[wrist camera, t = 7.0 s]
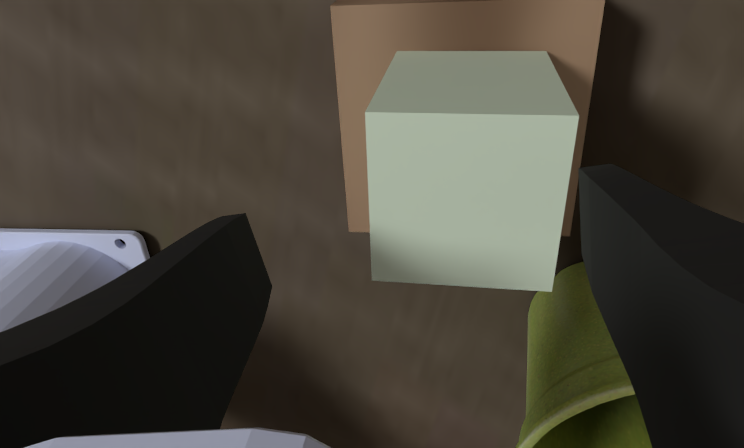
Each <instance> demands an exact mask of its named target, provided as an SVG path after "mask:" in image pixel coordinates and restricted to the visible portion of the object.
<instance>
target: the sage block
mask: <svg viewBox="0 0 744 448" xmlns="http://www.w3.org/2000/svg"><path fill="white" fill-rule="evenodd" d="M578 120H579V114H578V112H577V110H576V108H575V106H574V105H573V103H572V101H571V99H570V97H569V95H568V93H567V91H566V89H565V87H564V85H563V83H562V81H561V79H560V77H559V75H558V73H557V71H556V69H555V67H554V65H553V63H552V61H551V59H550V57H549V56H548V54H547V52H546V51H397V52H396V54H395V56H394V58H393V59H392V61H391V63H390V65H389V67H388V69H387V71H386V73H385V75H384V77H383V79H382V81H381V82H380V84H379V86H378V88H377V90H376V92H375V94H374V96H373V98H372V100H371V102H370V103H369V105H368V107H367V109H366V111H365V125H366V149H367V173H368V197H369V221H370V245H371V269H372V281H388V282H404V283H420V284H435V285H451V286H467V287H483V288H499V289H514V290H530V291H546V292H552V289H553V282H554V276H555V269H556V263H557V256H558V250H559V243H560V237H561V230H562V224H563V217H564V211H565V204H566V198H567V192H568V185H569V179H570V172H571V166H572V159H573V153H574V146H575V140H576V133H577V127H578Z"/></svg>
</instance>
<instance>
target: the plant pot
mask: <svg viewBox="0 0 744 448" xmlns="http://www.w3.org/2000/svg"><path fill="white" fill-rule="evenodd" d="M515 448H652V445H651V442H650V439H649V435H648V432H647V429H646V426H645V422H644V419H643V416H642V412H641V409H640V406H639V403H638V400H637V397H636V394H635V392H634V389H633V387H632V384H631V381H630V379H629V377H628V374H627V372H626V370H625V367H624V365H623V363H622V361H621V358H620V356H619V354H618V351H617V349H616V347H615V345H614V342H613V340H612V338H611V336H610V333H609V331H608V329H607V326H606V324H605V322H604V320H603V317H602V315H601V313H600V310H599V308H598V306H597V303H596V301H595V299H594V296H593V294H592V291H591V287H590V283H589V280H588V276H587V273H586V269H585V265H584V262H580V263H577V264H574V265H571V266H569V267H567V268H565V269H563V270H561V271H560V272H559V273H558V274H557V275H556V276H555V278H554V282H553V289H552V292H546V291H538V292H537V293H536V294H535V296H534V298H533V300H532V302H531V305H530V308H529V313H528V354H527V391H526V418H525V420H524V422H523V425H522V428H521V432H520V437H519V442H518V443H517V445H516V447H515Z"/></svg>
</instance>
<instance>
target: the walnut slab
mask: <svg viewBox="0 0 744 448" xmlns="http://www.w3.org/2000/svg"><path fill="white" fill-rule="evenodd" d="M604 5H605V0H337V1H335V2H334V3H333V4H332V5H331V6H330V8H331V20H332V32H333V44H334V56H335V69H336V81H337V93H338V105H339V117H340V129H341V141H342V153H343V165H344V177H345V189H346V201H347V214H348V226H349V232H370V221H369V197H368V173H367V149H366V125H365V111H366V109H367V107H368V105H369V103H370V102H371V100H372V98H373V96H374V94H375V92H376V90H377V88H378V86H379V84H380V82H381V81H382V79H383V77H384V75H385V73H386V71H387V69H388V67H389V65H390V63H391V61H392V59H393V58H394V56H395V54H396V52H397V51H546V52H547V54H548V56H549V57H550V59H551V61H552V63H553V65H554V67H555V69H556V71H557V73H558V75H559V77H560V79H561V81H562V83H563V85H564V87H565V89H566V91H567V93H568V95H569V97H570V99H571V101H572V103H573V105H574V106H575V108H576V110H577V112H578V114H579V120H578V127H577V133H576V140H575V146H574V153H573V159H572V166H571V172H570V179H569V185H568V192H567V198H566V204H565V211H564V217H563V224H562V230H561V236H570V232H571V226H572V219H573V212H574V206H575V199H576V192H577V185H578V179H579V174H578V168H580V165H581V159H582V152H583V145H584V139H585V132H586V125H587V119H588V112H589V105H590V98H591V92H592V85H593V78H594V72H595V65H596V58H597V52H598V45H599V38H600V32H601V25H602V18H603V12H604Z"/></svg>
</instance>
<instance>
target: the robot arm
mask: <svg viewBox="0 0 744 448" xmlns="http://www.w3.org/2000/svg"><path fill="white" fill-rule="evenodd" d="M578 174H579V199H580V225H581V250H582V257H583V261H584V265H585V269H586V273H587V276H588V280H589V283H590V287H591V291H592V294H593V296H594V299H595V301H596V303H597V306H598V308H599V310H600V313H601V315H602V317H603V320H604V322H605V324H606V326H607V329H608V331H609V333H610V336H611V338H612V340H613V342H614V345H615V347H616V349H617V351H618V354H619V356H620V358H621V361H622V363H623V365H624V367H625V370H626V372H627V374H628V377H629V379H630V381H631V384H632V387H633V389H634V392H635V394H636V397H637V400H638V403H639V406H640V409H641V412H642V416H643V419H644V422H645V426H646V429H647V432H648V435H649V439H650V442H651V445H652V448H744V223H741V222H738V221H735V220H733V219H730V218H727V217H724V216H722V215H719V214H717V213H714V212H712V211H709V210H707V209H705V208H702V207H700V206H697V205H695V204H693V203H691V202H688V201H686V200H684V199H682V198H680V197H677V196H675V195H673V194H671V193H669V192H667V191H665V190H663V189H661V188H659V187H657V186H655V185H653V184H651V183H649V182H647V181H645V180H644V179H642V178H640V177H638V176H636V175H634V174H632V173H630V172H628V171H626V170H624V169H622V168H620V167H618V166H616V165H613V164H604V165H597V166H589V167H582V168H578ZM120 239H122V240H123V241H124V242H125V243H126V244H123V243H122V242H121V241H120ZM271 289H272V285H271V282H270V279H269V276H268V274H267V271H266V268H265V265H264V263H263V260H262V257H261V254H260V252H259V249H258V246H257V243H256V241H255V238H254V235H253V232H252V230H251V227H250V224H249V221H248V219H247V216H246V213H244V214H236V215H229V216H222V217H219V218H217V219H214V220H212V221H210V222H208V223H206V224H204V225H203V226H201V227H199V228H197V229H196V230H194V231H192V232H191V233H189V234H187V235H186V236H184V237H183V238H181V239H179V240H178V241H176V242H175V243H173V244H171V245H170V246H168V247H167V248H165V249H164V250H162V251H160V252H159V253H157V254H156V255H154V256H152V257H151V258H150V256H149V253H148V249H147V246H146V243H145V240H144V238H143V236H142V235H141V234H140V233H138V232H136V231H128V230H69V229H10V228H0V448H331V447H329V446H327V445H326V444H324V443H322V442H320V441H318V440H316V439H314V438H312V437H310V436H309V435H307V434H303V433H295V432H288V431H281V430H274V429H267V428H260V427H255V428H234V429H220V427H221V423H222V420H223V418H224V415H225V412H226V410H227V407H228V405H229V402H230V400H231V397H232V395H233V393H234V390H235V388H236V386H237V383H238V381H239V379H240V377H241V374H242V372H243V370H244V367H245V365H246V363H247V360H248V358H249V356H250V353H251V351H252V349H253V346H254V344H255V342H256V339H257V337H258V334H259V332H260V329H261V327H262V324H263V321H264V318H265V314H266V310H267V307H268V302H269V298H270V294H271Z"/></svg>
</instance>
